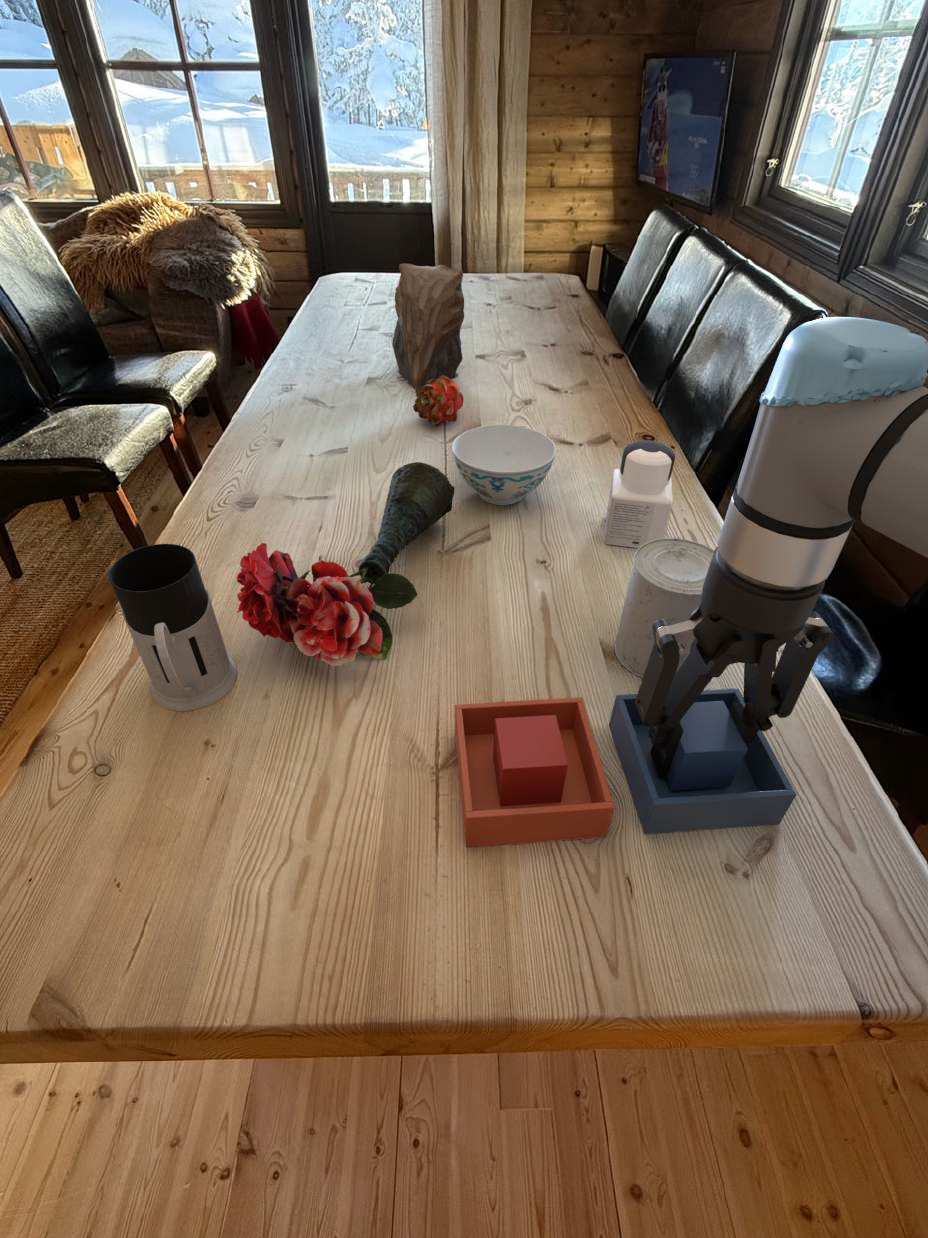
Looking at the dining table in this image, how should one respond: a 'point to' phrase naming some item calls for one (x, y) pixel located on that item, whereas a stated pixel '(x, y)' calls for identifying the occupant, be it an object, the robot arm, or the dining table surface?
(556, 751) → the red block
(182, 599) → the glass holder
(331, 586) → the flower vase
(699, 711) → the blue block
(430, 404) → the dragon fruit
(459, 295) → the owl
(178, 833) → the dining table surface
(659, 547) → the grey tin can
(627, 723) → the blue bin
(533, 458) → the chinaware
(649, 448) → the container
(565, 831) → the red bin
